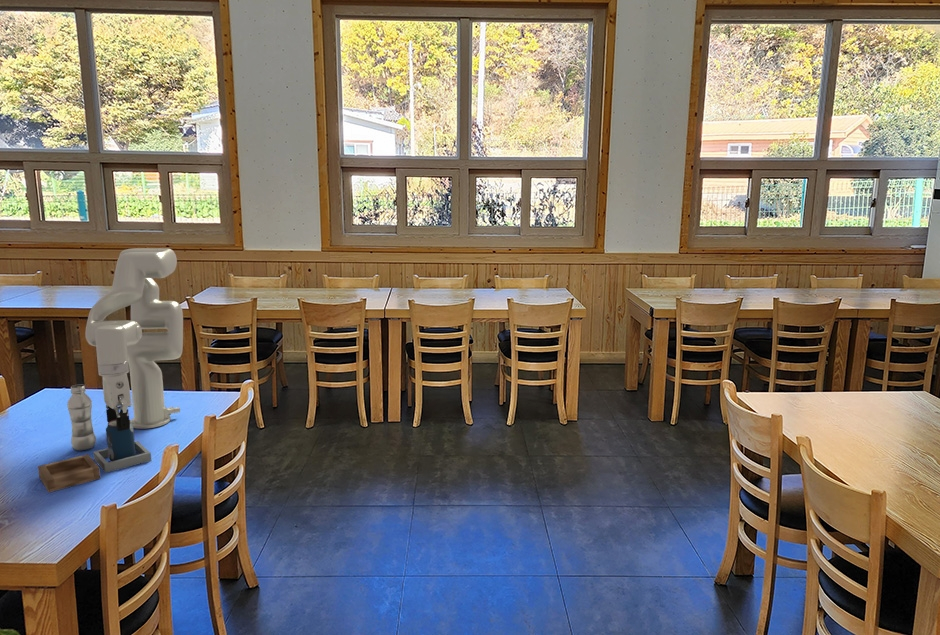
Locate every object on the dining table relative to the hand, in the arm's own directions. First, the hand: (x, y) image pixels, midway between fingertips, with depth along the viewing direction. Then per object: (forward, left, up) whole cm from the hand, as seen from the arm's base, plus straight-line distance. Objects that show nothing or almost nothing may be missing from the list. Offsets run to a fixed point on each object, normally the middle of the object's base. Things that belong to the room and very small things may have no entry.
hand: (118, 425), depth 177 cm
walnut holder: (+14, +2, -11) cm, 18 cm away
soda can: (0, -1, -11) cm, 11 cm away
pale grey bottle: (+6, -18, -11) cm, 22 cm away
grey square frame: (0, -1, -11) cm, 11 cm away
